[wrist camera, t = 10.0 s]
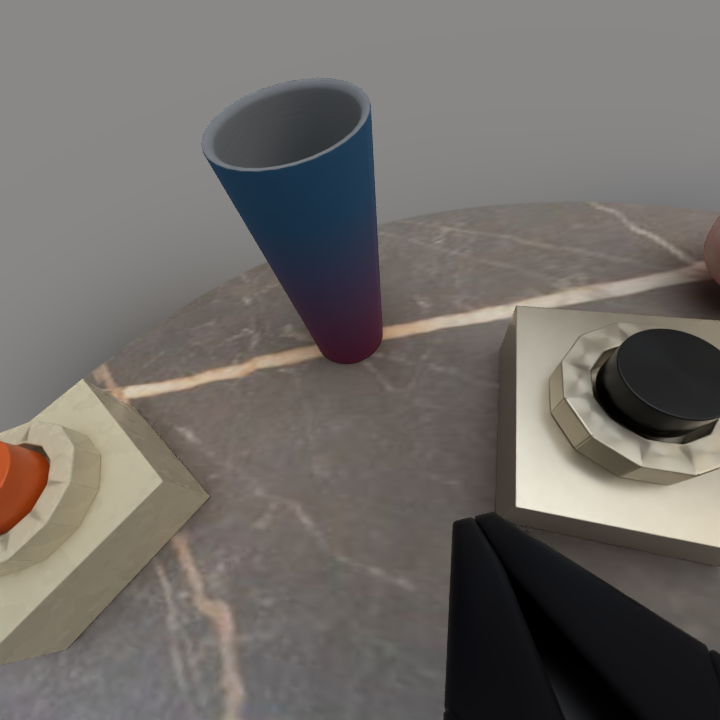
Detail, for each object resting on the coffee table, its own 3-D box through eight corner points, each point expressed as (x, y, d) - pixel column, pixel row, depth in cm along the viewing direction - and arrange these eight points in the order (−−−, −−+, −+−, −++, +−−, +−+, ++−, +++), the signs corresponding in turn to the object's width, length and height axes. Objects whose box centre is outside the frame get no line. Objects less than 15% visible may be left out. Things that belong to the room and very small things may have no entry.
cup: (291, 362, 26) (167, 164, 13) (326, 294, 29) (252, 78, 16) (378, 385, 24) (330, 177, 11) (405, 308, 27) (393, 75, 14)
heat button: (715, 446, 14) (759, 428, 12) (599, 429, 14) (624, 411, 13) (691, 358, 15) (726, 332, 14) (590, 349, 16) (610, 323, 15)
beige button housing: (210, 496, 22) (138, 472, 16) (66, 650, 19) (-84, 686, 13) (134, 407, 26) (57, 364, 20) (6, 520, 23) (-125, 505, 17)
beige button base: (718, 567, 16) (870, 567, 11) (494, 520, 19) (525, 500, 13) (670, 365, 22) (757, 297, 16) (500, 348, 24) (523, 283, 18)
